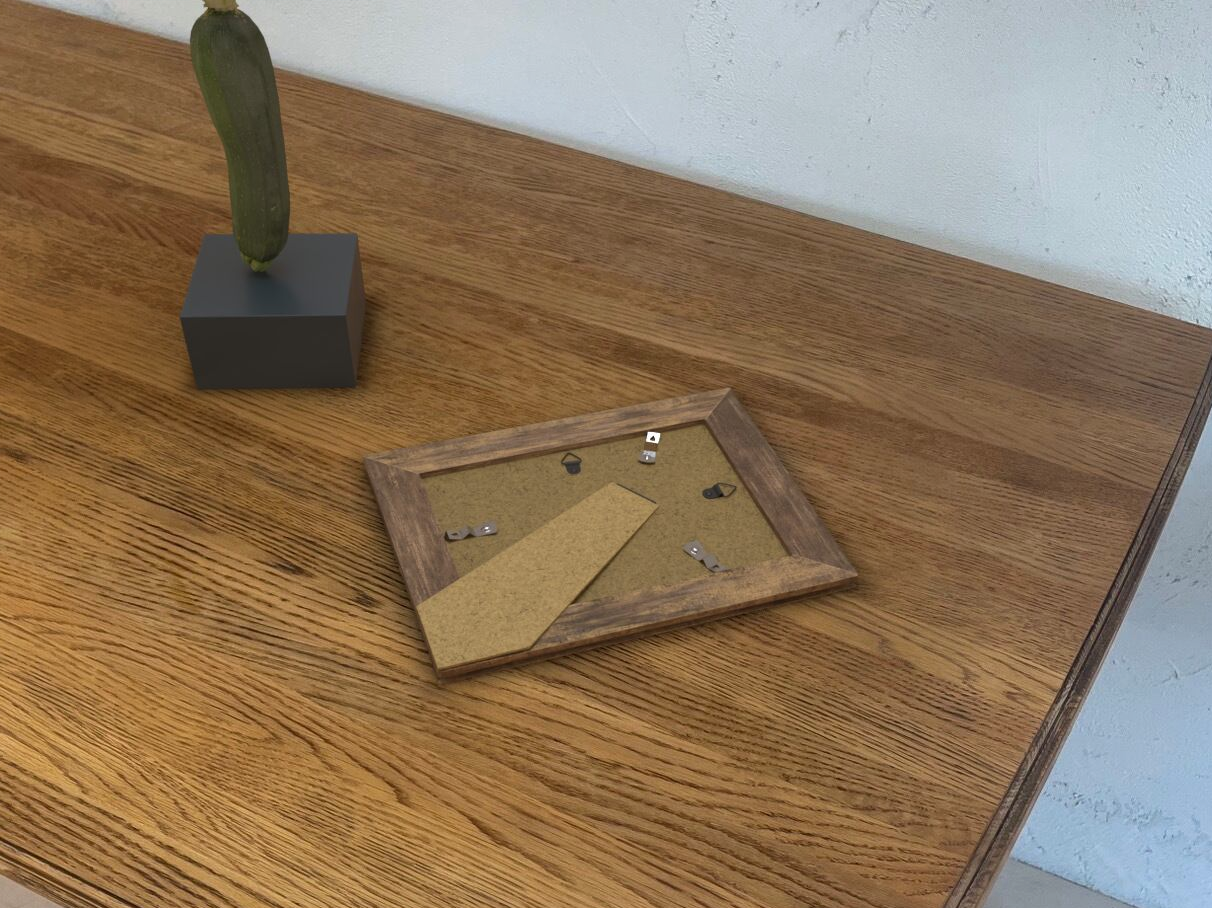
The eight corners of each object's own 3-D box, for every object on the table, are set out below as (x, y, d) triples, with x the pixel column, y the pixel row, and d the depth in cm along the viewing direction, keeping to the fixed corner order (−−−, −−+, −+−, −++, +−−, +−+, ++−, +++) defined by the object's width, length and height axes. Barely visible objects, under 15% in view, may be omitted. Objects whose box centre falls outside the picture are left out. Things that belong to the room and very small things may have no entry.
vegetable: (306, 253, 88) (253, -80, 73) (306, 288, 85) (251, -51, 70) (235, 257, 87) (169, -78, 73) (233, 292, 84) (163, -49, 70)
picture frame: (440, 693, 69) (854, 595, 75) (437, 669, 68) (859, 571, 74) (365, 475, 81) (727, 406, 88) (361, 451, 80) (730, 383, 86)
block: (198, 398, 86) (179, 316, 82) (220, 313, 93) (203, 233, 89) (357, 395, 87) (345, 314, 83) (367, 311, 94) (357, 232, 90)
